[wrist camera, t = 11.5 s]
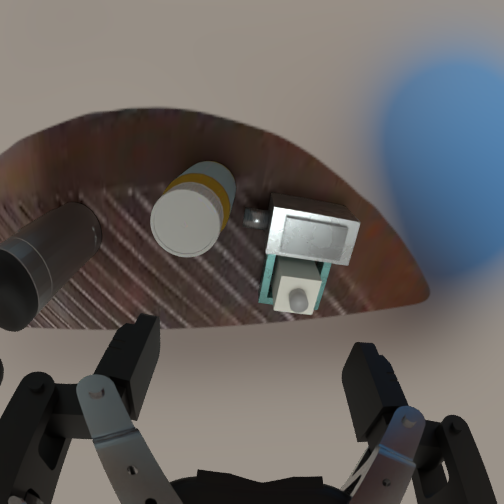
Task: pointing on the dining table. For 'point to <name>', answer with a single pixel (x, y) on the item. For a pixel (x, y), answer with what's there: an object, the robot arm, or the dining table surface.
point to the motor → (303, 235)
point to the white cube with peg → (295, 285)
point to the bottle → (194, 209)
